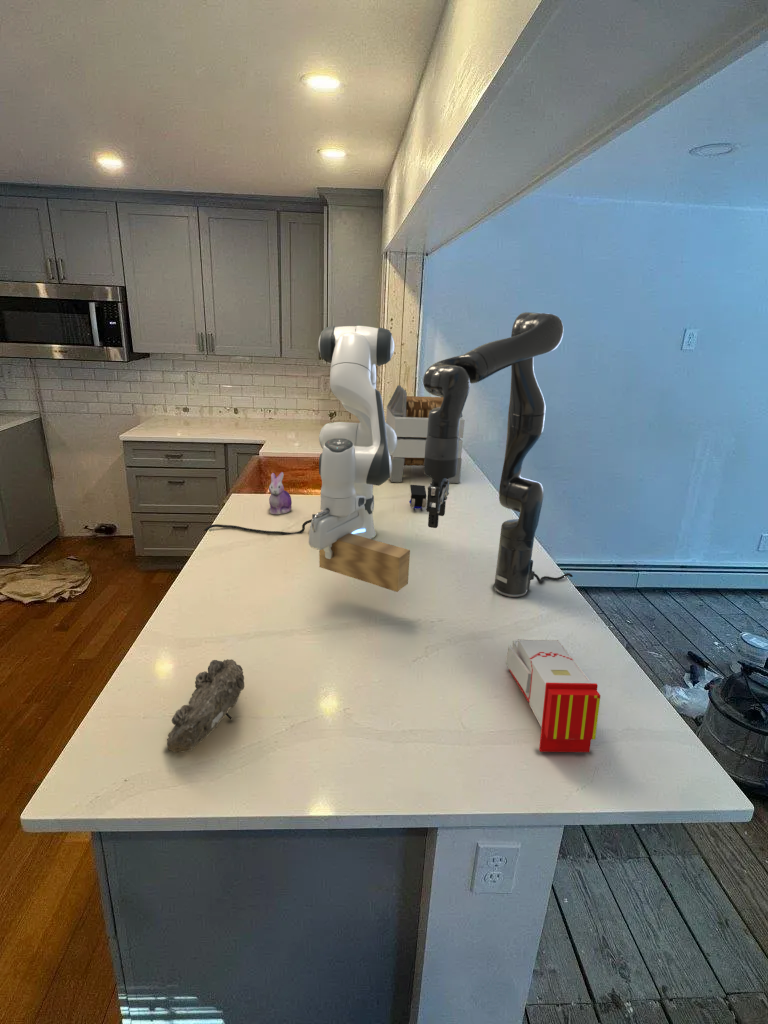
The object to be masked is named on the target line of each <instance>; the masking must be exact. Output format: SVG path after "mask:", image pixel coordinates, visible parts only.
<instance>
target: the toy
mask: <svg viewBox="0 0 768 1024" xmlns="http://www.w3.org/2000/svg"><path fill="white" fill-rule="evenodd" d="M505 659H506V660H505V665H506V666H507V667H508V671H509V673H510V674H511V676H512V678H513V679H514V681H515V682H516V685H517V686H518V688H519V690H520V691H521V692H522V694H523V697H525V699H526V701H527V703H529V707H530V709H531V711H532V712H533V714H534V716H535V718H536V720H537V722H538V724H539V726H540V728H541V729H540V739H539V748H538V751H539V752H540V753H543V752H544V753H590V752H591V744H592V743H591V742H592V740H596V736H597V727H598V720H599V719H598V718H599V710H600V704H601V703H600V702H601V696H602V695H601V694H600V693H599V692H598V687H599V686H598V683H595V682H594V683H592V682H591V681H590V679H589V678H588V677H587V676H586V674H585V673H584V671H583V670H582V669H581V668H580V666H579V665H578V664H577V663H576V662H575V661H576V660H574V659H573V658H572V656H571V655H570V653H568V651H567V650H566V648H565V647H564V645H563V644H562V643H561V642H560V641H559V639H529V638H528V639H524V638H521V639H517V640H512V645H511V644H510V645H509V644H508V646H507V653H506V658H505Z"/></svg>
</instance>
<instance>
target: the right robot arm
mask: <svg viewBox="0 0 768 1024" xmlns="http://www.w3.org/2000/svg"><path fill="white" fill-rule="evenodd" d="M564 330H565V329H564V324H563V321H562V319H561V318H560V317H559V316H558V315H556V314H553V313H548V312H529V311H528V312H527V311H525V312H521V313H520V314H518V316H517V317H516V318H515V319H514V322H513V324H512V329H511V336H510V337H505V338H501V339H498V340H493V341H489V342H487V343H483V344H481V345H479V346H477V347H475V348H473V349H472V350H469V351H468V352H465V353H464V354H461V355H457V356H452V357H448V358H445V359H442V360H439V361H437V362H434V363H433V364H431V365H430V366H429V367H428V368H427V369H426V371H425V372H424V375H423V378H422V384H423V388H424V390H425V391H426V392H427V393H428V394H430V395H432V396H434V397H444V398H443V402H442V405H441V407H438V408H434V409H432V410H431V411H430V412H429V416H428V429H427V439H426V444H425V459H424V466H423V474H424V475H425V476H427V477H429V478H431V479H432V480H431V482H429V484H428V487H427V496H426V508H425V510H426V513H428V517H427V518H428V519H427V520H428V521H427V527H428V528H433V529H437V528H438V527H439V517H444V516H445V515H446V503H447V500H448V496H449V494H450V483H449V478H452V477H454V476H455V475H456V472H457V460H458V448H459V443H458V433H459V421H460V416H461V413H462V414H463V410H464V408H465V404H466V402H467V399H468V397H469V392H470V388H471V384H478V383H479V382H482V381H484V380H486V379H487V378H489V377H491V376H492V375H494V374H496V373H498V372H500V371H502V370H504V369H506V368H508V367H510V366H511V367H510V372H511V373H510V374H511V375H510V394H509V404H508V413H507V423H506V425H507V426H506V443H505V450H504V451H505V453H504V459H503V464H502V466H503V467H502V471H501V472H502V473H501V476H500V480H499V481H500V483H499V489H498V500H499V503H500V505H501V506H502V507H504V508H506V509H509V510H511V511H514V512H517V513H519V516H518V518H513V519H507V520H505V521H503V522H502V523H501V527H500V533H499V534H500V535H499V544H498V551H497V560H496V567H495V575H494V576H495V577H494V583H493V590H494V591H495V592H496V593H498V594H499V595H502V596H505V597H508V598H509V597H510V598H521V597H524V596H526V594H527V593H528V592H529V591H530V588H531V581H533V580H534V578H536V580H537V582H538V583H540V584H541V583H543V581H544V580H551V581H561V580H563V579H564V578H567V577H568V576H569V577H570V578H573V577H574V576H573V574H572V573H570V572H566V573H565V574H563V575H561V576H558V577H554V576H547V575H546V576H545V575H544V576H541V578H540V576H539V575H538V574H536V572H535V571H534V570H533V566H534V559H532V557H533V550H534V542H535V537H536V532H537V528H538V526H539V521H540V516H541V510H542V507H543V503H544V502H543V500H544V494H545V492H544V487H543V484H542V483H540V482H539V481H536V480H533V479H529V478H525V477H522V467H523V463H524V460H525V458H526V456H527V455H528V453H529V452H530V451H531V450H532V448H533V447H534V446H535V445H536V444H537V442H538V441H539V439H540V438H541V436H542V435H543V432H544V429H545V428H544V427H545V421H546V420H545V418H546V411H547V410H546V408H547V407H546V401H545V398H544V394H543V392H542V390H541V388H540V386H539V383H538V380H537V378H536V374H535V370H534V369H535V368H534V367H535V366H534V358H535V357H538V356H541V355H545V354H549V353H551V352H553V351H555V350H556V349H557V348H558V347H559V345H560V344H561V343H562V340H563V337H564ZM433 504H435V505H434V506H433ZM564 576H565V577H564Z"/></svg>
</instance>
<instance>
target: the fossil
mask: <svg viewBox="0 0 768 1024" xmlns="http://www.w3.org/2000/svg"><path fill="white" fill-rule="evenodd" d="M243 670H244V669H243V667H242V665H240V664H237V662H236V661H235V660H234V659H232V658H231V659H227V658H226V659H224V660H223V661H222V660H217V659H212V660H211V661H210V663H209V665H208V666H207V671H201V672H199V673H198V674H197V675H196V676H195V680H194V684H195V685H194V687H195V689H194V690H193V693H192V694H191V697H190V698H189V700H188V704H184V705H182V706H181V707H180V709H177V710H176V711H175V713H174V715H173V716H172V718H171V723H172V724H173V727H172V730H171V731H170V732H168V734H167V738H166V741H167V742H166V745H167V749H168V750H169V751H173V752H174V753H176V754H178V753H182V752H188V751H189V752H192V751H193V750H195V748H196V747H197V746H199V744H200V743H201V742H203V741H204V740H205V739H206V738H207V737H208V736H209V735H210V734H211V733H212V732H214V730H215V729H217V727H218V726H219V724H220V722H221V721H222V720H223V719H224V718H225V716H226V717H227V719H229V720H233V717H232V715H230V714H229V710H230V709H231V708H234V706H235V704H236V703H237V702H238V699H239V697H240V695H241V693H242V691H243V690H245V689H244V688H245V675H244V671H243Z"/></svg>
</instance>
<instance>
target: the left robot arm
mask: <svg viewBox="0 0 768 1024" xmlns="http://www.w3.org/2000/svg"><path fill="white" fill-rule="evenodd" d="M317 344H318V347H317V348H318V351H319V355H320V358H321V359H322V360H323V361H324V362H325V363H328V364H330V369H329V388H330V391H331V393H332V394H333V396H334V397H335V398H336V399H337V400H338V401H339V402H340V403H341V405H342V407H343V408H344V410H346V412H348V413H350V414H351V415H353V416H354V417H356V418H357V420H359V422H351V421H349V422H348V421H335V422H329V423H325V424H324V425H323V426H322V427H321V429H320V431H319V435H318V442H319V445H320V448H321V449H322V452H321V453H320V455H319V457H318V474H319V476H320V479H321V487H320V511H318V512H316V513H312V517H311V519H308V520H306V521H305V522H304V523H302V525H301V529H300V530H299V531H295V532H288V531H280V530H279V531H278V530H263V529H257V528H249V527H244V526H239V525H231V524H220V523H219V524H211V525H209V526H207V527H205V528H204V529H203V531H204V532H207V531H209V530H210V529H212V528H222V529H223V528H224V529H235V530H236V529H237V530H241V531H246V532H251V533H260V534H267V535H284V536H285V535H286V536H287V535H296V534H302V533H303V532H305V530H306V525H308V524H309V531H308V532H309V533H308V545H309V547H310V548H312V549H314V550H318V551H319V550H322V549H324V551H325V557H326V558H327V559H331V558H333V557H334V551H332V550H331V548H330V547H332V544H333V543H334V542H336V541H337V539H339V538H341V537H343V536H345V535H346V534H348V533H350V534H354V535H358V536H361V537H365V538H368V539H372V540H373V538H375V537H376V535H377V532H376V528H375V523H374V513H373V512H374V509H375V496H374V486H381V485H382V484H384V483H386V482H387V481H388V480H390V475H391V472H392V461H391V457H390V455H391V454H392V453H393V452H394V451H395V449H396V446H397V436H396V433H395V431H394V430H393V428H392V427H390V426H389V425H388V424H387V423H386V415H385V409H384V404H383V397H382V394H381V392H380V391H379V390H378V389H377V367H382V366H383V365H386V364H388V363H389V362H390V361H391V359H392V357H393V355H394V352H395V339H394V338H393V333H392V332H391V331H390V330H389V329H387V328H384V327H381V326H379V327H374V326H367V325H356V326H355V325H345V326H335V325H332V326H327V327H324V329H322V331H321V332H320V335H319V338H318V343H317Z"/></svg>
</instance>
